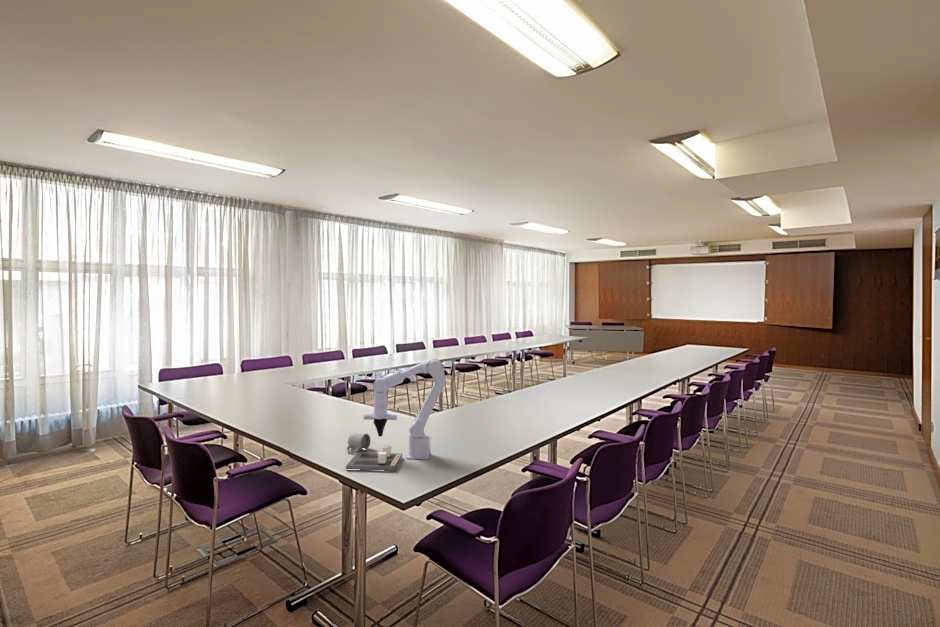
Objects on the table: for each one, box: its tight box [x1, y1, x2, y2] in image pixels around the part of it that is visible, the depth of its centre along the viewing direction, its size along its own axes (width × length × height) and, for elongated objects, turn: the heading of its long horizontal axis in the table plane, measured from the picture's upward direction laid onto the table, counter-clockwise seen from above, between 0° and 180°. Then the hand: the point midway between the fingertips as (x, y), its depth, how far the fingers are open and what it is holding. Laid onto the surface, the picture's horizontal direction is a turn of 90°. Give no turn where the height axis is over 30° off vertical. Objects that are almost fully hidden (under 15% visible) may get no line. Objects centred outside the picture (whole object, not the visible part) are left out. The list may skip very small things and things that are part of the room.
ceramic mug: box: [346, 432, 371, 454], centre depth 214 cm, size 11×8×8 cm
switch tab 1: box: [377, 451, 387, 463], centre depth 192 cm, size 3×3×4 cm
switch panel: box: [345, 452, 403, 472], centre depth 196 cm, size 20×16×2 cm
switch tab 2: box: [382, 445, 392, 457], centre depth 200 cm, size 3×3×4 cm
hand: (380, 435), depth 205 cm, fingers closed
